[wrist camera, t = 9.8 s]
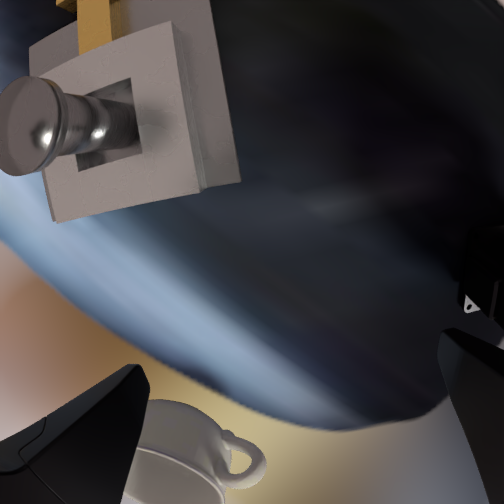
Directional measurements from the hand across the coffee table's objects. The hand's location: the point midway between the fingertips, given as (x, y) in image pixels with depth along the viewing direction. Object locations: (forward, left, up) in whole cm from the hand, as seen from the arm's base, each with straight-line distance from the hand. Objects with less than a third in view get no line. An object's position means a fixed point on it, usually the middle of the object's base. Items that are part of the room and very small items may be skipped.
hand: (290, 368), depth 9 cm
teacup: (+10, +16, -12) cm, 23 cm away
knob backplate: (+9, -13, -12) cm, 20 cm away
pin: (+9, -9, -11) cm, 17 cm away
